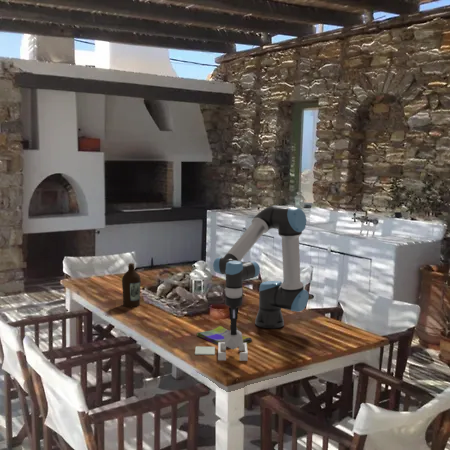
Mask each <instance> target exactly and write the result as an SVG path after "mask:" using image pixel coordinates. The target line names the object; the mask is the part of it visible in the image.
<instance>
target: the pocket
mask: <svg viewBox="0 0 450 450" xmlns="http://www.w3.org/2000/svg"><path fill="white" fill-rule="evenodd" d="M217 347H218V348H217V360H218V361H227V348H226V346H225V342H218V345H217ZM238 351H239V361H240V362H241V361H244V362H246V361H247V362H248V361H249V360H248V355H249V353H248V352H249V351H248V343H243V344H242V345H240V346H239V347H238Z"/></svg>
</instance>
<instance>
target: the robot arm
mask: <svg viewBox="0 0 450 450" xmlns="http://www.w3.org/2000/svg"><path fill="white" fill-rule="evenodd" d="M306 225H307V216H306V213H305V211H303V209H302V208H300V207H294V206H284V205H276V204H275V205H270V206H268V207H266V208H264V209H262V210H261V211H259V212H258V213H257V214H256V215H255V216H254V217H253V218H252V220H251V224H250V225H249V226H248V227H247V229H245V231H244V232H243V234H242V235H240V237H239V238H238V239H237V241H236V242H235V243H234V244H233V245H232V246H231V248H230V249H229V250H228V251H227V252H226V254H225V255H224V256H223V257H222V256H221V257H216V258H215V259H214V261H213V264H212V267H213V271H214V272H215V273H217V274H221V275H225V288H224V289H223V290H224V291H225V297H224V298H225V299H224V300H225V302H224V303H225V306H227V307H229V308H228V312H229V319H230V326H229V328H230V329H229V330H231V335H237V333H236V331H237V330H238V326H237V325H238V324H237V323H238V322H237V321H238V319H239V317H238V316H239V315H238V314H239V308H238V307H240V306H242V305H243V289H244V288H243V282H244V281H247V280H250V279H254V278H256V277H258V276H259V274H260V271H261V268H260V265H259V264H258V263H257V262H256V261H255V260H252V261H242V260H243V259H244V258H245V256H246V255H247V254H248V253H249V252H250V251H251V249H252V248H253V247H254V245H255V244H256V243H257V242H258V241H259V240H260V238H261V237H262V236H263V235H264V234H266V233H268V232H269V230H272V229H275V230H277V232H278V233H277V234H278V236H280V237H281V253H282V277H283V278H282V279H283V282H282V281H280V280H269V281H268V280H267V281H263V282H260V285H259V289H258V294H259V296H258V297H259V298H258V299H259V300H258V311H257V314H256V317H255V321H254V322H255V326H257V327H259V328H263V329H279V328H282V327H284V326H285V321H284V316H283V313H282V310H283V309H284V310H287V311H291V312H298V313H300V312H302V311H303V310H305V308H306V307H307V304H308V301H309V292H308V290H307V289H305V288H304V287H305V286H304V283H303V282H301V261H300V260H301V259H300V236H301V235H302V234H303V231H304V230H305V229H306ZM238 331H239V330H238ZM229 349H231V348H229ZM235 349H237V348H235ZM235 349H234V350H235ZM231 350H232V349H231Z"/></svg>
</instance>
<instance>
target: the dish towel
mask: <svg viewBox="0 0 450 450" xmlns="http://www.w3.org/2000/svg"><path fill="white" fill-rule="evenodd" d="M228 331H230V329H227V328H225V327H223V326H222V325H219V326H217V327H215V328H214V329H211V330H206V331H202V332H201V331H200V332H199V331H198V332H196V333H197V334H196V336H197V337H200V338H202V339H203V340H206V341H207V342H210V343H212V344H214V345H216V346H218V342H225V340H224V334H225V333H226V332H228ZM242 339H243V343H247V344H248V343H252V341H253V339H252V337H250V336H244V335H242ZM228 348H229V347H227V346H226V349H228Z"/></svg>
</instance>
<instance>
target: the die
mask: <svg viewBox="0 0 450 450" xmlns="http://www.w3.org/2000/svg"><path fill="white" fill-rule="evenodd" d="M236 333H237V335H231V329H229V331H228V332H226V333H225V334H224V340H225V346H227V347H228V348H229V349H230V348H231V350H233V351H234V350H235V348H236V349H237V348H239V346H240V345H242V344H243V339H242V336H243V333H242V331H240V330H237V331H236Z"/></svg>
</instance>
